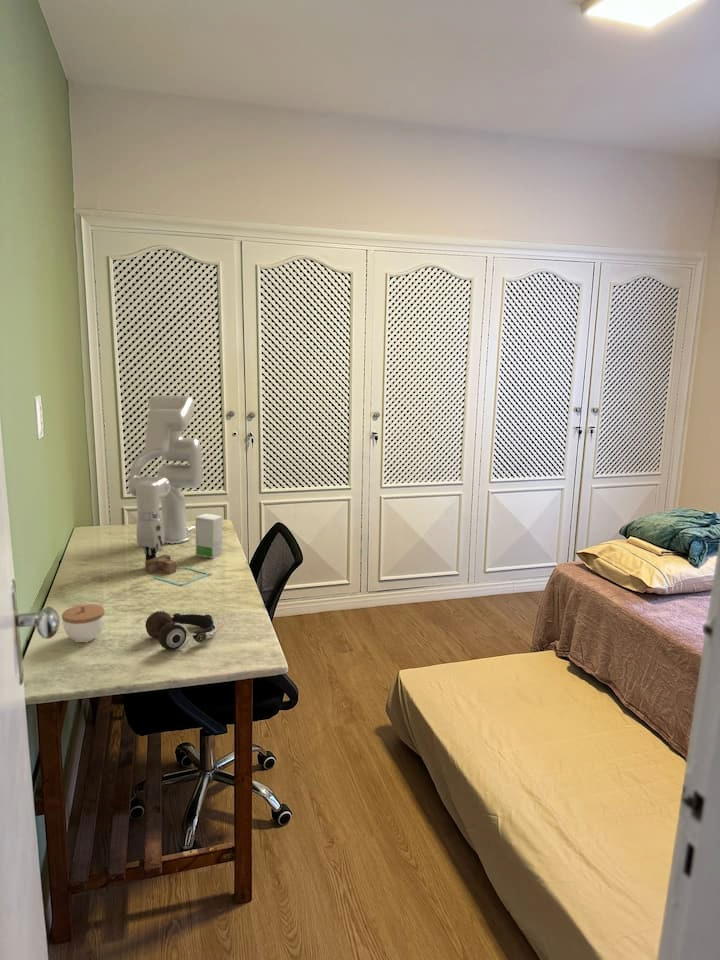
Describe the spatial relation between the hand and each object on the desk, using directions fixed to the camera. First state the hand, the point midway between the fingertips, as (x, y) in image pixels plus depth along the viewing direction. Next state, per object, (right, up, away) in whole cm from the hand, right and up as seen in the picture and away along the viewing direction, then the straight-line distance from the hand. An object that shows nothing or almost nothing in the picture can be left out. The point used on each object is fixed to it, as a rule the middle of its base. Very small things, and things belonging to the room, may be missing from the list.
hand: (151, 564), depth 235 cm
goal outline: (+13, -3, -8) cm, 16 cm away
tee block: (+6, -2, -3) cm, 7 cm away
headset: (+27, -13, -54) cm, 62 cm away
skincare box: (+18, +1, +15) cm, 23 cm away
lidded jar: (0, -13, -56) cm, 58 cm away
